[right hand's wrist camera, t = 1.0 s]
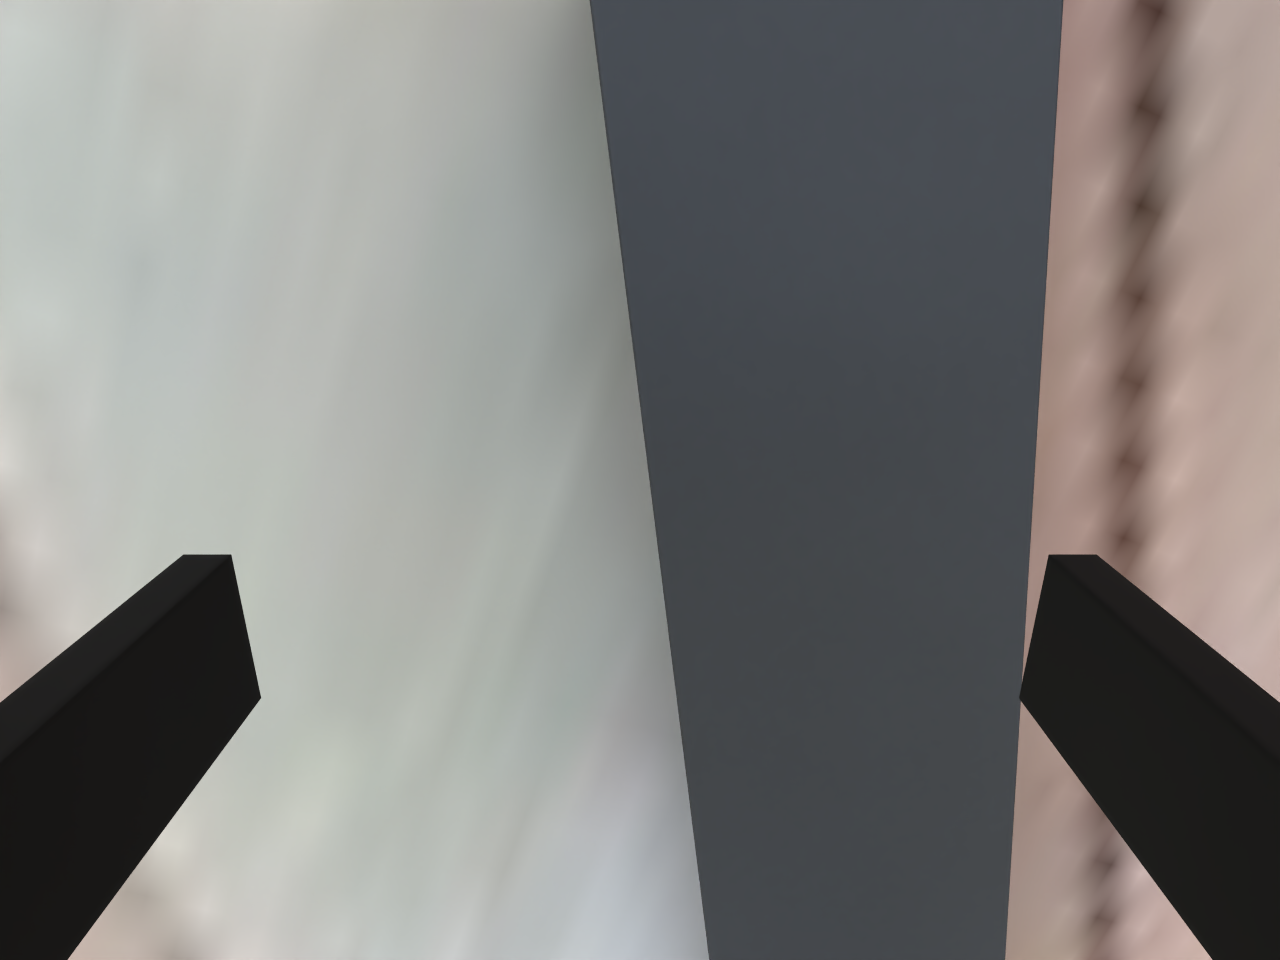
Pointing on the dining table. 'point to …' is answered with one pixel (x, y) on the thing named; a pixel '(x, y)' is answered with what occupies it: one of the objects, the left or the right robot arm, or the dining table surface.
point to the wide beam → (840, 442)
